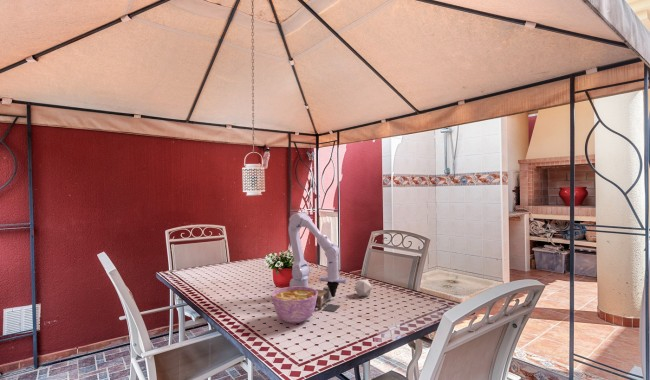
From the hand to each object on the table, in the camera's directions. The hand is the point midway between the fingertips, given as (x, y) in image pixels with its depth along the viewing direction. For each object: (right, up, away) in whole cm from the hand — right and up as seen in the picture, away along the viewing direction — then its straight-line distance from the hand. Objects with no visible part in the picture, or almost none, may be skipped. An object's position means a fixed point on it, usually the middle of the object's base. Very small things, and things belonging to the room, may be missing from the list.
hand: (333, 296), depth 163 cm
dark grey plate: (-1, -2, -11) cm, 12 cm away
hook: (-9, -2, -3) cm, 9 cm away
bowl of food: (-17, -2, -24) cm, 30 cm away
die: (+16, -2, +6) cm, 17 cm away
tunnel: (-8, -2, -9) cm, 12 cm away
